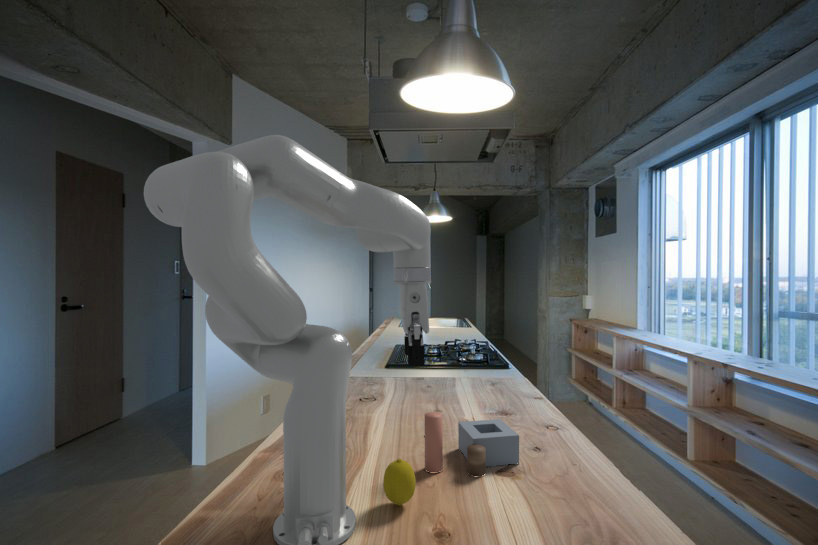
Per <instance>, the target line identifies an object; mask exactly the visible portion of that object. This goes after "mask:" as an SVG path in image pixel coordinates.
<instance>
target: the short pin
mask: <svg viewBox="0 0 818 545" xmlns="http://www.w3.org/2000/svg"><path fill="white" fill-rule="evenodd" d="M466 460H467V461H466V467H467V469H466V470H467V471H466V472H468V473H469V474H470V475H473V476H482V475H484V474H485V473H487V472H486V471H487V469H486V468H487V467H486V448H485V447H484V446H482V445H478V444H472V445H469V446H468V447H467V459H466ZM468 473H467V474H468ZM470 475H469V476H470ZM485 475H486V474H485Z"/></svg>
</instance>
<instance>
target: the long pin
mask: <svg viewBox="0 0 818 545" xmlns="http://www.w3.org/2000/svg"><path fill="white" fill-rule="evenodd" d="M443 419H444V418H443V414H442V413H441V412H435V411H434V412H427V413H425V414H424V470H425V469H426V470H427V471H429V472H439V471H441V470H442V469H443V468H444V467H443V462H444V460H443V457H444V456H443V455H444V454H443V448H444V447H443V445H444V444H443V436H444V434H443V429H444V428H443V425H444V424H443ZM442 471H443V470H442Z"/></svg>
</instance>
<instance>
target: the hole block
mask: <svg viewBox="0 0 818 545" xmlns="http://www.w3.org/2000/svg"><path fill="white" fill-rule="evenodd" d="M457 427H458V429H457V430H458V431H457V432H458V433H457V434H458V437H457V438H458V444H457V445H458V448H459V449H460V450H461V451H460V450H459V449H458V448H457V449H458V450H459V451H460V452H462V453H463V454H464V455H463V454H462V453H461V454H462V455H463V457H464V456H465V457H466V458H467V447H468V446H469V445H472V444H478V445H482V446H484V447H485V448H486V466H493V467H497V466H496V465H504V466H509V465H508V464H515V465H520V435H519V434H518V433H517V432H516V431H515V429H513V428H511V427H510V426H509V425H508V424H507V423H506V422H504V421H503V419H501V418H499V419H496V418H495V419H484V420H481V419H480V420H469V421H458V426H457ZM465 457H464V458H465ZM466 458H465V459H466ZM517 463H518V464H517ZM505 464H506V465H505Z"/></svg>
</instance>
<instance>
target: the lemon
mask: <svg viewBox="0 0 818 545" xmlns="http://www.w3.org/2000/svg"><path fill="white" fill-rule="evenodd" d="M382 481H383V482H382V484H383V491H384V494H385V496H386V498H387V499H388V500H389V502H391V503H393V504H395V505H396V506H399V507H401V506H403V505H404V504H406V503H408V502H409V501H410V500H411V499H412V498H413V496H414V494H415V491H416V485H417V484H416V475H415V472H414V469H413V467H412V465H411V464H410V463H409V462H408V461H406V460H404V459H401V458H397V459H396V460H394V461H392V462H391V463H389V464H388V465H387V467H386V468H385V471H384V475H383V480H382Z"/></svg>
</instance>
